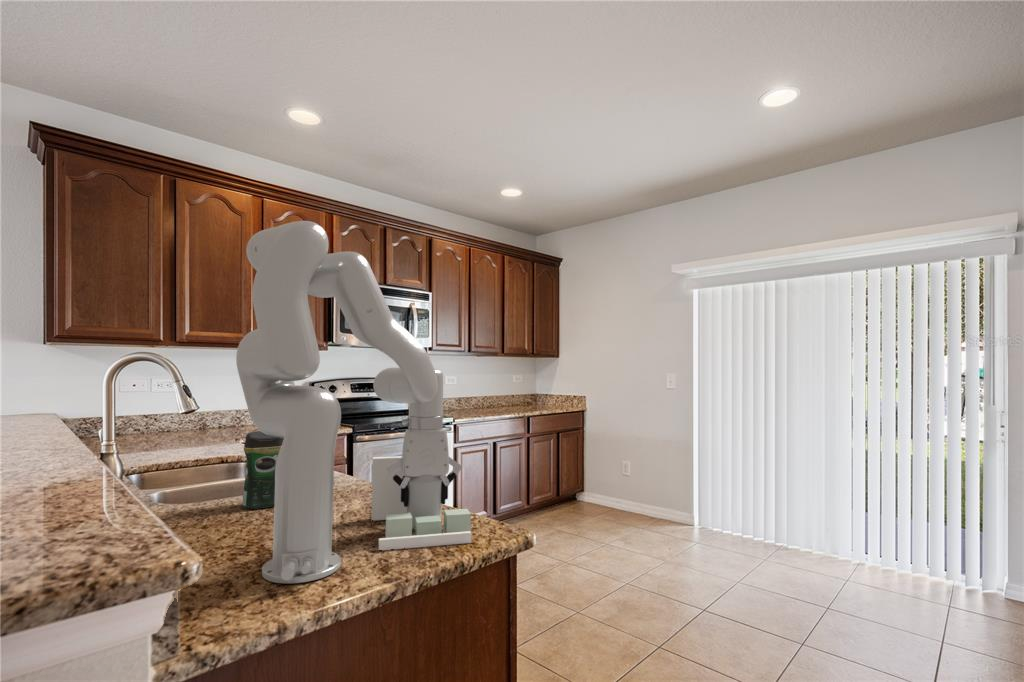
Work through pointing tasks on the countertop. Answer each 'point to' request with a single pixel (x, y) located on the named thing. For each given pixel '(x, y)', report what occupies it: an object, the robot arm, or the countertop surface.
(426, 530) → the offcut mid
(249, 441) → the coffee jar
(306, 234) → the robot arm
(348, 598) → the countertop surface
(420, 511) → the can
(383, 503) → the rack
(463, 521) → the offcut
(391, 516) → the offcut
